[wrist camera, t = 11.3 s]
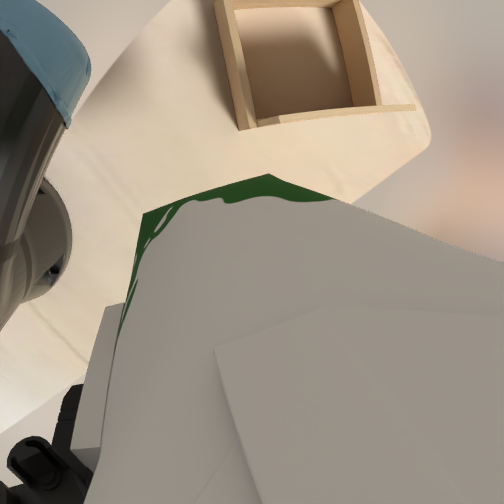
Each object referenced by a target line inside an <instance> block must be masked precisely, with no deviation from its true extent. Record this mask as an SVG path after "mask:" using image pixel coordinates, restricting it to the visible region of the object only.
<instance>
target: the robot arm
mask: <svg viewBox="0 0 504 504" xmlns="http://www.w3.org/2000/svg"><path fill="white" fill-rule="evenodd" d="M90 75H91V63H90V58H89V56H88V54H87V52H86V49H85V47H84V46H83V44H82V43H81V42H80V40H79V39H78V38H77V37H76V35H75V34H74V33H73V32H72V31H71V30H70V29H69V28H68V27H67V26H66V25H65V24H64V23H63V22H62V21H61V20H60V19H59V18H58V17H56V16H55V15H54V14H53V13H52V12H50V11H49V10H48V9H47V8H45V7H44V6H42V5H41V4H40V3H38V2H37V1H35V0H0V331H1V330H2V328H3V327H4V325H5V324H6V322H7V321H8V320H9V318H10V317H11V316H12V314H13V313H14V311H15V310H16V309H17V307H18V306H19V305H20V304H21V303H24V302H27V301H29V300H32V299H35V298H37V297H40V296H41V295H43V294H45V293H46V292H47V291H49V290H50V289H51V288H52V287H53V286H54V285H55V283H56V282H57V281H58V279H59V278H60V277H61V275H62V274H63V272H64V271H65V269H66V267H67V264H68V261H69V258H70V255H71V249H72V229H71V223H70V219H69V215H68V212H67V210H66V207H65V205H64V203H63V201H62V199H61V198H60V196H59V195H58V193H57V192H56V191H55V189H54V188H53V187H52V186H51V185H50V184H49V183H48V182H47V181H45V180H44V179H43V177H44V174H45V172H46V170H47V167H48V165H49V163H50V160H51V158H52V156H53V154H54V152H55V149H56V147H57V145H58V143H59V141H60V139H61V137H62V135H63V133H64V131H65V129H68V128H69V126H70V124H71V115H72V113H73V111H74V109H75V107H76V105H77V103H78V101H79V99H80V97H81V95H82V93H83V91H84V89H85V87H86V85H87V84H88V81H89V79H90ZM124 307H125V303H120V304H116V305H112V306H108V307H106V308H105V311H104V314H103V317H102V320H101V324H100V327H99V330H98V334H97V337H96V340H95V344H94V347H93V351H92V355H91V358H90V362H89V366H88V369H87V373H86V377H85V381H84V384H79V385H73V386H72V387H71V388H70V390H69V391H68V392H67V394H66V395H65V396H64V398H63V401H62V405H61V409H60V411H61V412H60V413H59V416H58V423H57V424H56V428H55V432H54V436H53V440H52V445H50V443H49V442H48V441H47V440H45V439H44V438H42V437H39V436H31V437H27V438H24V439H23V440H21V441H20V442H18V443H17V444H16V445H15V446H14V447H13V448H12V449H11V451H10V453H9V456H8V458H7V468H8V469H9V470H10V471H12V473H14V474H15V475H16V476H17V477H18V478H19V479H20V480H21V481H22V482H23V483H24V484H20V485H17V486H13V487H10V488H8V487H7V486H6V485H5V484H4V483H3V482H2V481H0V504H84V501H85V498H86V495H87V493H88V490H89V487H90V484H91V481H92V478H93V475H94V473H95V470H96V467H97V464H98V461H99V458H100V453H101V444H102V435H103V427H104V420H105V412H106V405H107V398H108V391H109V385H110V379H111V373H112V367H113V361H114V356H115V350H116V345H117V340H118V335H119V330H120V325H121V320H122V316H123V311H124Z"/></svg>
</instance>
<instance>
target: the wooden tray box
mask: <svg viewBox="0 0 504 504" xmlns="http://www.w3.org/2000/svg"><path fill="white" fill-rule="evenodd" d="M265 7H323V8H332V11H333V15H334V19H335V23H336V27H337V31H338V35H339V39H340V43H341V47H342V52H343V56H344V61H345V66H346V71H347V75H348V81H349V86H350V91H351V96H352V102H353V107H350V108H339V109H328V110H319V111H310V112H302V113H294V114H287V115H280V116H273V117H267V118H261V119H256V115H255V110H254V105H253V100H252V95H251V90H250V85H249V80H248V75H247V70H246V65H245V60H244V56H243V51H242V46H241V42H240V37H239V32H238V28H237V23H236V18H235V14H234V10H235V9H248V8H265ZM214 11H215V16H216V20H217V25H218V30H219V35H220V40H221V45H222V49H223V54H224V59H225V64H226V69H227V74H228V79H229V84H230V89H231V94H232V99H233V104H234V109H235V114H236V119H237V124H238V129H239V131H241V130H246V129H252V128H257V127H263V126H269V125H275V124H282V123H288V122H295V121H302V120H310V119H318V118H326V117H335V116H345V115H356V114H367V113H380V112H394V111H414V110H416V108H415V104H408V105H382V102H381V96H380V90H379V85H378V80H377V74H376V69H375V65H374V60H373V55H372V51H371V46H370V42H369V38H368V34H367V30H366V26H365V22H364V19H363V15H362V11H361V8H360V4H359V1H358V0H216V1H215V4H214Z"/></svg>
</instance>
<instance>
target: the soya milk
mask: <svg viewBox="0 0 504 504" xmlns="http://www.w3.org/2000/svg"><path fill="white" fill-rule="evenodd" d="M84 504H504V262H501V261H498V260H495V259H492V258H489V257H485V256H482V255H479V254H476V253H473V252H469V251H467V250H464V249H461V248H458V247H456V246H453V245H450V244H448V243H445V242H442V241H439V240H437V239H435V238H433V237H430V236H428V235H426V234H423V233H421V232H418V231H416V230H414V229H411V228H409V227H406V226H404V225H401V224H399V223H397V222H394V221H392V220H389V219H386V218H384V217H381V216H379V215H376V214H374V213H371V212H369V211H366V210H363V209H361V208H358V207H356V206H353V205H350V204H348V203H345V202H342V201H340V200H337V199H334V198H331V197H329V196H326V195H323V194H320V193H317V192H315V191H312V190H309V189H306V188H303V187H300V186H297V185H294V184H291V183H288V182H285V181H283V180H281V179H279V178H277V177H275V176H273V175H271V174H265V175H262V176H258V177H254V178H250V179H247V180H243V181H239V182H236V183H232V184H229V185H225V186H222V187H218V188H215V189H212V190H208V191H205V192H202V193H199V194H196V195H192V196H189V197H186V198H183V199H181V200H178V201H176V202H173V203H170V204H168V205H165V206H162V207H160V208H157V209H155V210H152V211H149V212H147V213H144V214H143V217H142V222H141V227H140V232H139V237H138V242H137V248H136V253H135V259H134V264H133V270H132V276H131V281H130V285H129V289H128V293H127V298H126V302H125V307H124V311H123V316H122V320H121V325H120V330H119V335H118V340H117V345H116V350H115V356H114V361H113V367H112V373H111V379H110V385H109V391H108V398H107V405H106V412H105V420H104V427H103V435H102V444H101V453H100V458H99V461H98V464H97V467H96V470H95V473H94V475H93V478H92V481H91V484H90V487H89V490H88V493H87V495H86V498H85V501H84Z"/></svg>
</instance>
